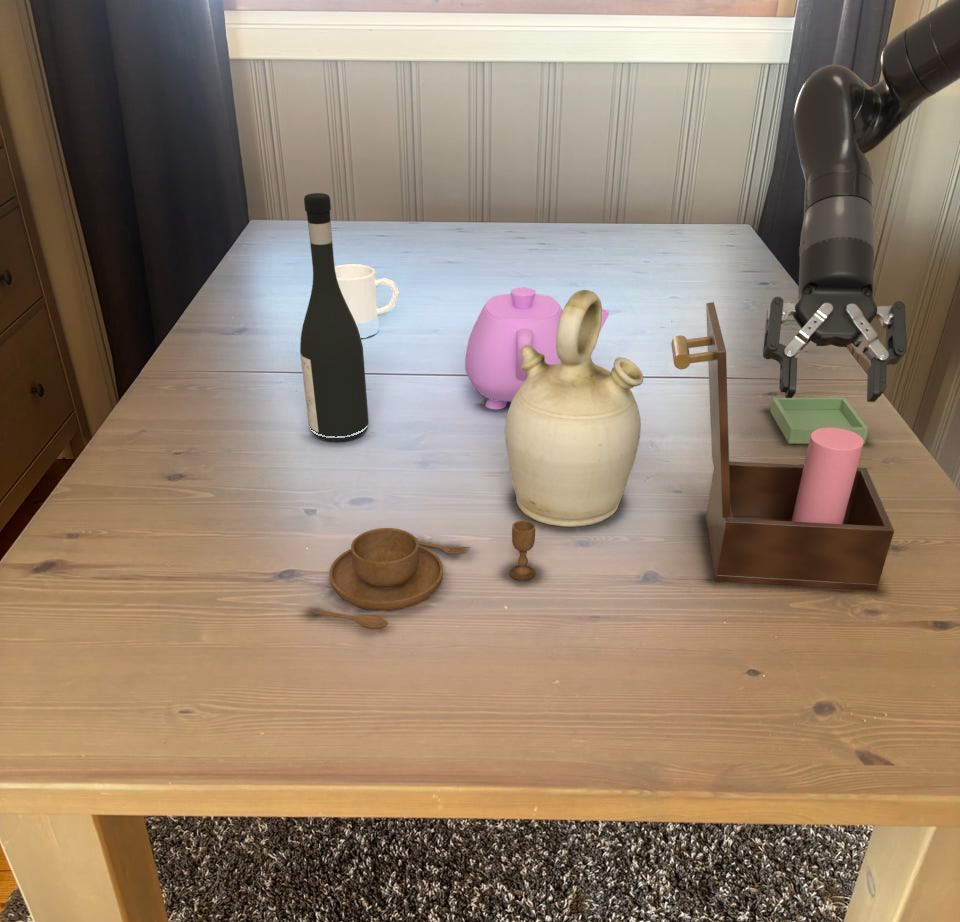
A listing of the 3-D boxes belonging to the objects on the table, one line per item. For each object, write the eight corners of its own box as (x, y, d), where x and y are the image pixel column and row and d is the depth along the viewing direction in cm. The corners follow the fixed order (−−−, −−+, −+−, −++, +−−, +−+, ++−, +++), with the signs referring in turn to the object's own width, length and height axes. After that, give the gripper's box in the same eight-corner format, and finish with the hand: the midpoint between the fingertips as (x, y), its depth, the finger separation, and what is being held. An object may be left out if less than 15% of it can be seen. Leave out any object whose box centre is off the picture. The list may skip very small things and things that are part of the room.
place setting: (374, 532, 111) (371, 486, 107) (540, 567, 105) (542, 519, 102) (297, 615, 98) (290, 566, 94) (481, 660, 92) (481, 610, 89)
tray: (842, 411, 137) (845, 397, 136) (865, 443, 129) (869, 428, 128) (769, 411, 137) (772, 397, 136) (788, 443, 129) (791, 429, 128)
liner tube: (843, 545, 107) (872, 437, 99) (822, 565, 104) (850, 454, 96) (800, 529, 110) (824, 422, 102) (778, 548, 107) (801, 439, 99)
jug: (658, 502, 116) (685, 291, 101) (573, 550, 108) (588, 327, 93) (563, 460, 125) (574, 260, 110) (477, 501, 117) (476, 290, 101)
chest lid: (714, 301, 99) (668, 308, 100) (726, 350, 88) (674, 357, 89) (719, 456, 109) (677, 460, 110) (730, 517, 98) (684, 521, 99)
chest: (851, 524, 112) (866, 467, 108) (876, 590, 102) (894, 530, 97) (705, 516, 114) (714, 460, 109) (715, 581, 103) (725, 521, 99)
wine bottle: (302, 442, 129) (272, 202, 111) (319, 417, 136) (294, 186, 117) (361, 447, 128) (340, 204, 110) (375, 421, 135) (358, 188, 116)
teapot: (611, 428, 133) (620, 318, 124) (464, 428, 133) (463, 319, 124) (596, 372, 148) (603, 271, 139) (465, 372, 148) (464, 271, 139)
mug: (396, 342, 159) (393, 281, 153) (325, 338, 160) (319, 277, 154) (406, 325, 165) (403, 265, 159) (337, 322, 166) (332, 262, 160)
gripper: (776, 232, 101) (770, 380, 99) (917, 236, 100) (914, 386, 98) (761, 269, 109) (755, 407, 107) (893, 273, 107) (889, 413, 105)
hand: (831, 397), depth 102 cm, fingers open, 8 cm apart
